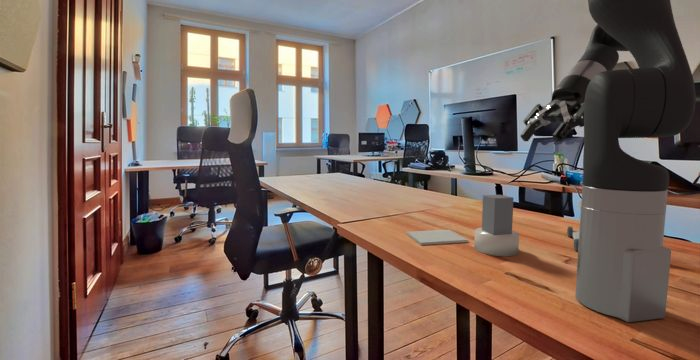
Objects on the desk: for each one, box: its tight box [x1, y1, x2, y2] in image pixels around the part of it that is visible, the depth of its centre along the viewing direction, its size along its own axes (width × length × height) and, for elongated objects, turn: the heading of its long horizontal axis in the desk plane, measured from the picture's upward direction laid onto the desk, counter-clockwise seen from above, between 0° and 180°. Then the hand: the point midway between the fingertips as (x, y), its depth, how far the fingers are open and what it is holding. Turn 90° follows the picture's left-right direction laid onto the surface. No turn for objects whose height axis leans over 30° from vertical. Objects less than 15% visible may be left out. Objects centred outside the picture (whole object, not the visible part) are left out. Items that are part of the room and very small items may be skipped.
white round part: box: [473, 227, 520, 257], centre depth 74 cm, size 9×9×4 cm
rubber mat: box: [405, 228, 469, 246], centre depth 83 cm, size 10×12×1 cm
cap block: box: [481, 194, 514, 235], centre depth 73 cm, size 4×4×8 cm
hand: (538, 139), depth 74 cm, fingers open, 8 cm apart
